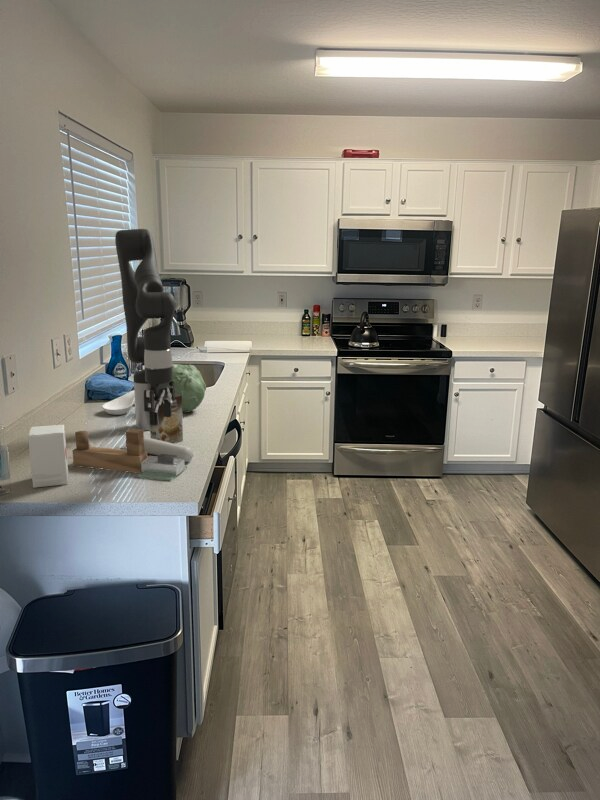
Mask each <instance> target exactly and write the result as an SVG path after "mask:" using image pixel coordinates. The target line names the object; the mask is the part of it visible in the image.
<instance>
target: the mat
mask: <svg viewBox="0 0 600 800" xmlns="http://www.w3.org/2000/svg"><path fill="white" fill-rule="evenodd" d="M185 468H186V469H187V468H188V465H185ZM181 473H182V472H180V473H179V475H180V474H181ZM137 477H138V478H139V479H151V480H159V481H168V482H171V481H172V479H173V480H174V479H175V478H176V477H177V476H176V475H167V474H157V473H148V472H142V473H139V474H138V475H137Z"/></svg>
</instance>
